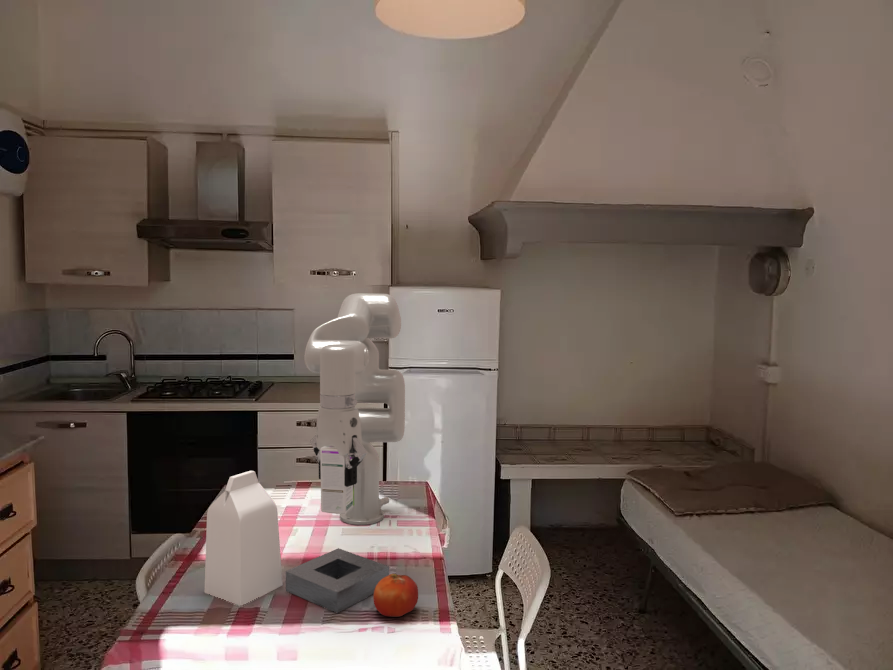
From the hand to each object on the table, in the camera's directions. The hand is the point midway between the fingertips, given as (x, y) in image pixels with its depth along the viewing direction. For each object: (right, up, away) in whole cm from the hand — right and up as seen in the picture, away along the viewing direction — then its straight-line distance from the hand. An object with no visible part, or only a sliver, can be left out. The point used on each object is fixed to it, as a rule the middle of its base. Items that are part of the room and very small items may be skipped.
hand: (337, 480), depth 151 cm
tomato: (+13, -26, -8) cm, 30 cm away
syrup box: (0, -7, +1) cm, 7 cm away
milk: (-21, -24, +2) cm, 32 cm away
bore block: (0, -24, +2) cm, 25 cm away
